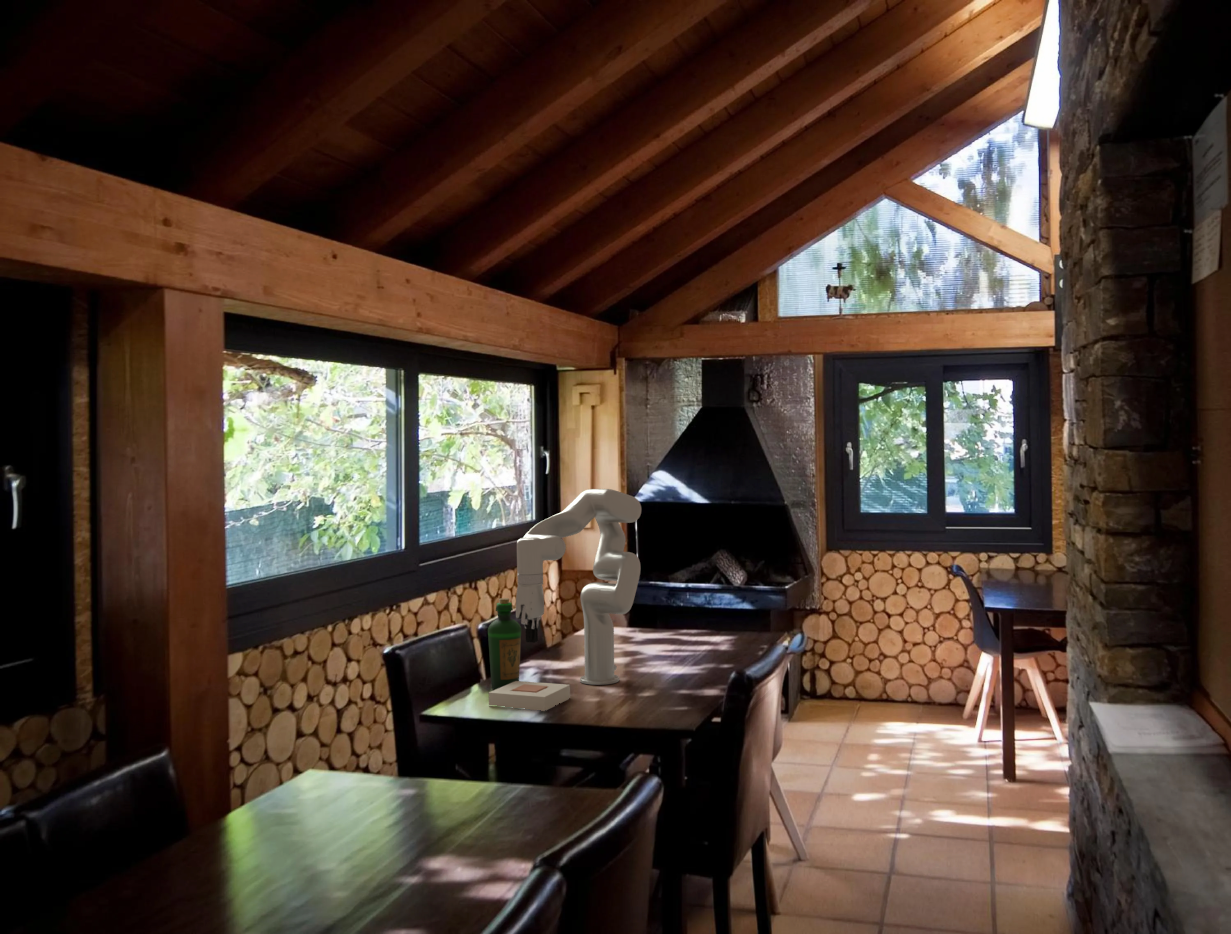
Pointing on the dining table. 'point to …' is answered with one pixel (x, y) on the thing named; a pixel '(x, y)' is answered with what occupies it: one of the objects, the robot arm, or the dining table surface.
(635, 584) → the robot arm
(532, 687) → the button
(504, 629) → the bottle
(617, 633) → the dining table surface
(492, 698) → the panel
